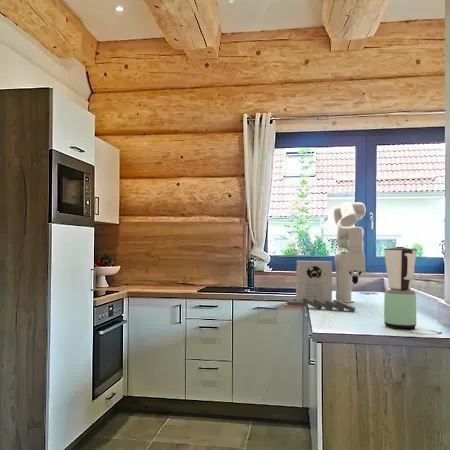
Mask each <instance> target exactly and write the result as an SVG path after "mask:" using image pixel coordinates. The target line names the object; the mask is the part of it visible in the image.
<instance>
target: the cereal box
mask: <svg viewBox="0 0 450 450" xmlns="http://www.w3.org/2000/svg"><path fill="white" fill-rule="evenodd" d="M295 277H296V279H295V280H296V285H295V286H296V288H295V289H296V291H295V292H296V293H295V295H296V297H295V299H296V301H303V298H305V297H308V298H310V299H311V300H313V301H314V299H316V298H317V299H320V300H322V301H324V302H325V301H326V300H327V299H328V300H330V301H333V261H330V260H329V261H328V260H327V261H325V260H296V276H295Z"/></svg>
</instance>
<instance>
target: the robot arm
mask: <svg viewBox="0 0 450 450" xmlns="http://www.w3.org/2000/svg"><path fill="white" fill-rule="evenodd" d="M366 211H367V210H366V206H365V203H363V202H355V201H353V202H351V201H350V202H349V201H347V202H343V203H342V204H341V205H339V206H335V207H334V208H333V211H332V213H333V214H332V215H333V219H334V223H335V225H336V245H337V248H339V249H341V250H342V251H341V250H340V251H337V252H335V254H334V264H335V298H332V301H333V302H335V303H336V302H337V301H338V300H339V301H342V302H344V303H346V304H349V303H354V301H355V300H354V299H352V283H353V285H357V284H358V283H359V276H360V275H361V274H365V273H366V258H365V257H366V256H365V252H364V240H363V239H364V236H365V230H364V228H363V227H361V226H354V225H356V224H357V222H358V221H360V220H362V219H363V218H364V216H365V215H366ZM355 272H356V275H355Z"/></svg>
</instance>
